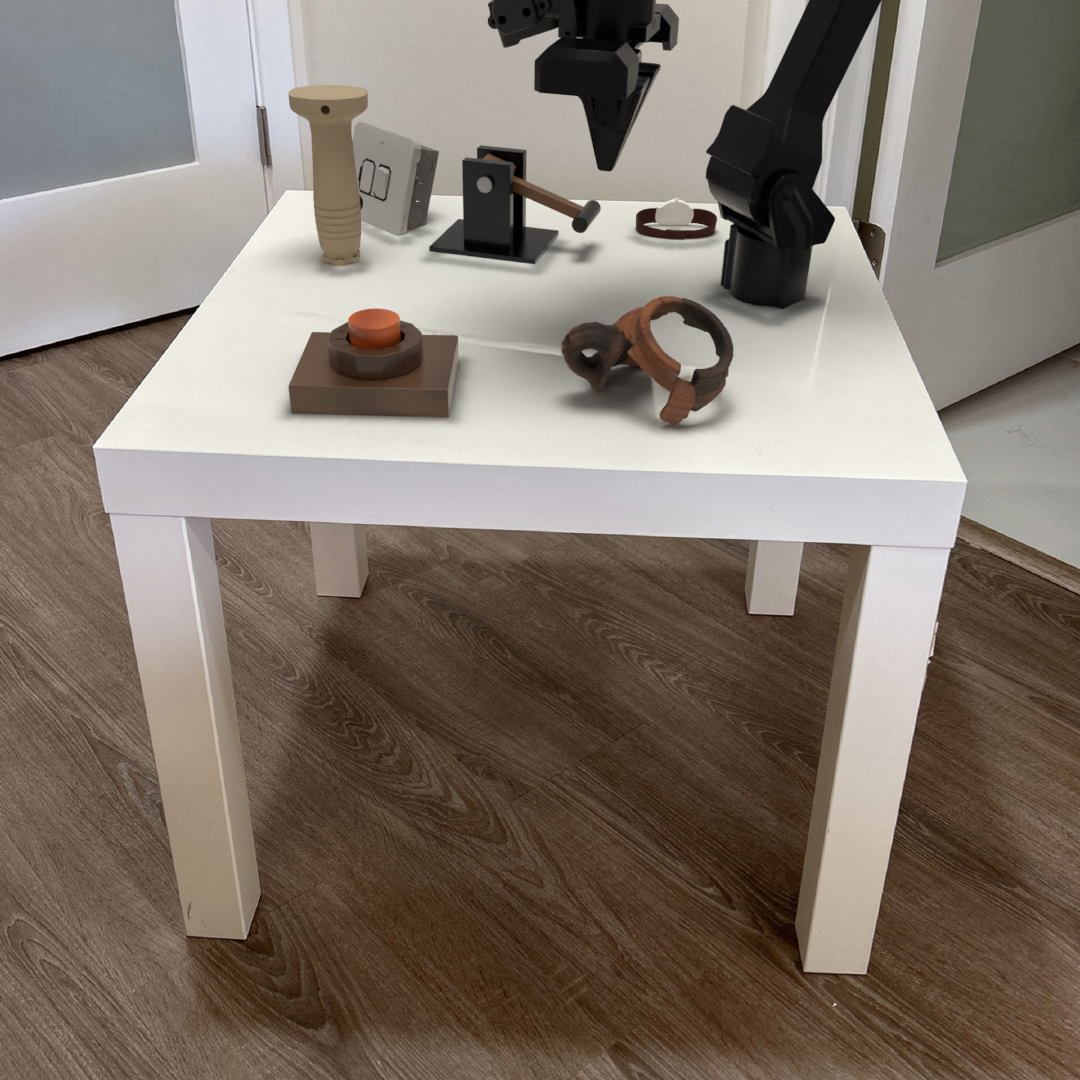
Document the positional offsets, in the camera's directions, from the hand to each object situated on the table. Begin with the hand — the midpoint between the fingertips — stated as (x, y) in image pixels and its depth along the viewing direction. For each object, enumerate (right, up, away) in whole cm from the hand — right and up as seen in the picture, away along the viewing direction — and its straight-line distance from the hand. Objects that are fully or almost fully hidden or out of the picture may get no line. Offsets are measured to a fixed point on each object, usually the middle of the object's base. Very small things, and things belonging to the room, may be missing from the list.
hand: (605, 169), depth 87 cm
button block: (-17, -16, -1) cm, 23 cm away
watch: (+8, +1, +25) cm, 27 cm away
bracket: (-9, -1, +22) cm, 24 cm away
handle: (-23, -3, +18) cm, 29 cm away
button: (-17, -13, -3) cm, 21 cm away
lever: (-6, +3, +19) cm, 20 cm away
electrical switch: (-20, +3, +27) cm, 34 cm away
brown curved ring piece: (+2, -17, -2) cm, 18 cm away
